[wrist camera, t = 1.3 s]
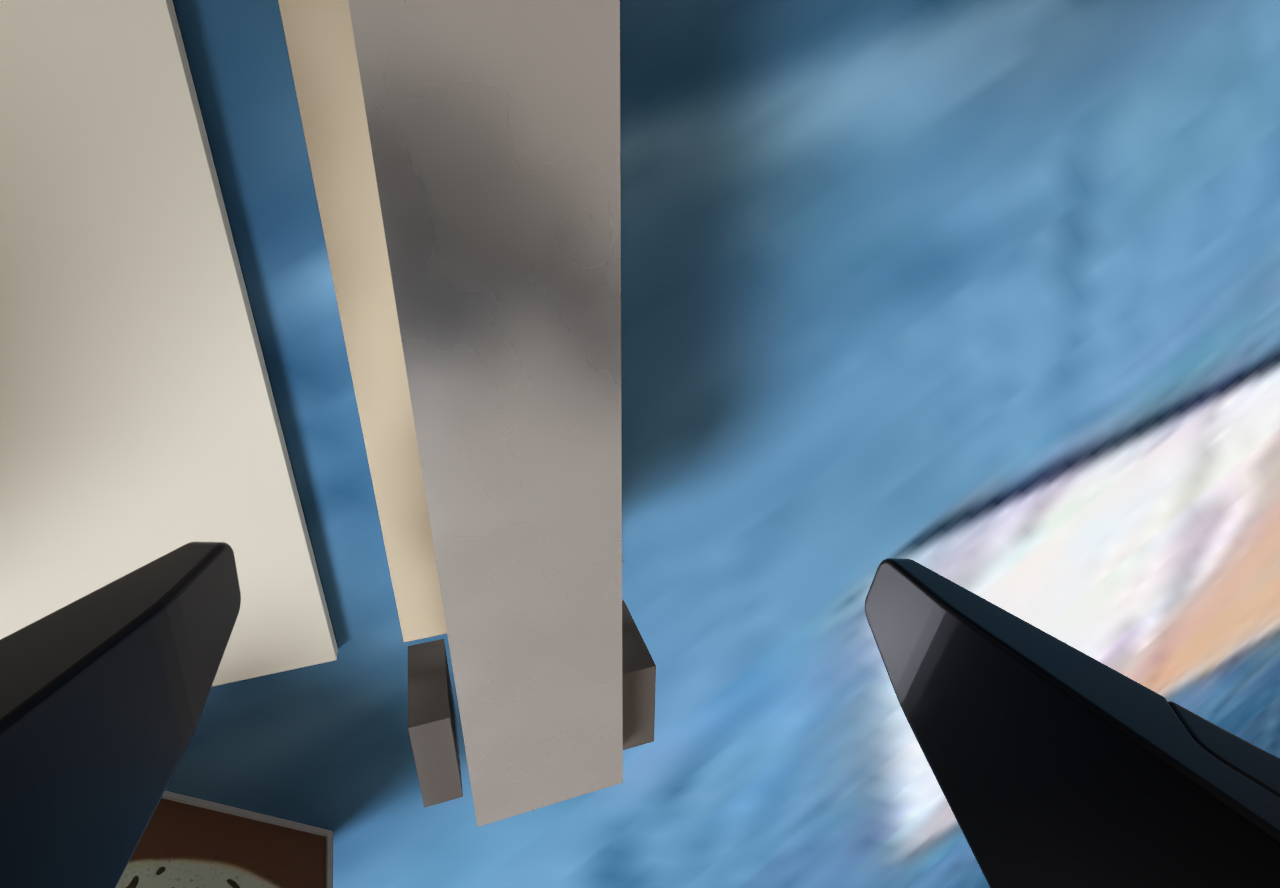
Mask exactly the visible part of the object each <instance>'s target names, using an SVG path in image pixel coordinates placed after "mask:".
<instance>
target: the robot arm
mask: <svg viewBox="0 0 1280 888" xmlns="http://www.w3.org/2000/svg"><path fill="white" fill-rule="evenodd" d="M240 604H241V593H240V587H239V581H238V575H237V569H236V563H235V557H234V552H233V550H232V548H231V546H230V545H228V544H227V543H225V542H190V543H187V544H185V545H183V546H181V547H179V548H177V549H175V550H173V551H171V552H170V553H168V554H166V555H164V556H162V557H160V558H158V559H156V560H154V561H152V562H150V563H148V564H146V565H144V566H142V567H140V568H138V569H136V570H135V571H133V572H131V573H129V574H127V575H125V576H123V577H121V578H119V579H117V580H115V581H113V582H111V583H109V584H107V585H105V586H103V587H102V588H100V589H98V590H96V591H94V592H92V593H90V594H88V595H86V596H84V597H82V598H80V599H78V600H76V601H74V602H72V603H70V604H69V605H67V606H65V607H63V608H61V609H59V610H57V611H55V612H53V613H51V614H49V615H47V616H45V617H43V618H41V619H39V620H37V621H36V622H34V623H32V624H30V625H28V626H26V627H24V628H22V629H20V630H18V631H16V632H14V633H12V634H10V635H8V636H6V637H4V638H2V639H1V640H0V888H116V886H117V884H118V882H119V880H120V878H121V876H122V874H123V872H124V870H125V868H126V866H127V864H128V862H129V860H130V858H131V856H132V854H133V852H134V850H135V848H136V846H137V844H138V842H139V840H140V839H141V837H142V835H143V833H144V831H145V829H146V827H147V825H148V823H149V821H150V819H151V817H152V815H153V813H154V811H155V809H156V807H157V805H158V803H159V801H160V799H161V797H162V795H163V793H164V791H165V789H166V787H167V785H168V783H169V781H170V779H171V777H172V775H173V773H174V771H175V769H176V767H177V765H178V763H179V761H180V760H181V758H182V756H183V754H184V752H185V750H186V748H187V745H188V743H189V741H190V739H191V737H192V735H193V733H194V731H195V728H196V726H197V723H198V721H199V718H200V716H201V713H202V711H203V708H204V706H205V703H206V700H207V698H208V695H209V692H210V690H211V687H212V684H213V681H214V679H215V676H216V673H217V671H218V668H219V665H220V662H221V660H222V657H223V654H224V652H225V649H226V646H227V644H228V641H229V638H230V635H231V633H232V630H233V627H234V625H235V622H236V619H237V617H238V614H239V610H240ZM865 613H866V617H867V620H868V622H869V625H870V627H871V630H872V633H873V635H874V638H875V641H876V643H877V646H878V649H879V651H880V654H881V656H882V659H883V662H884V664H885V667H886V670H887V672H888V675H889V677H890V680H891V683H892V685H893V688H894V691H895V693H896V695H897V698H898V700H899V703H900V705H901V707H902V710H903V712H904V714H905V716H906V718H907V720H908V722H909V724H910V726H911V728H912V731H913V733H914V735H915V737H916V739H917V741H918V743H919V745H920V747H921V749H922V751H923V753H924V755H925V757H926V759H927V761H928V763H929V765H930V767H931V769H932V771H933V773H934V775H935V777H936V779H937V781H938V783H939V785H940V787H941V789H942V791H943V793H944V795H945V797H946V799H947V801H948V803H949V805H950V807H951V809H952V811H953V813H954V815H955V818H956V820H957V822H958V824H959V826H960V828H961V830H962V832H963V834H964V836H965V838H966V840H967V842H968V844H969V846H970V848H971V850H972V852H973V854H974V856H975V858H976V860H977V862H978V864H979V866H980V868H981V870H982V872H983V874H984V876H985V878H986V880H987V882H988V884H989V886H990V888H1280V758H1278V757H1276V756H1274V755H1272V754H1270V753H1268V752H1266V751H1264V750H1262V749H1260V748H1258V747H1256V746H1254V745H1252V744H1250V743H1248V742H1247V741H1245V740H1243V739H1241V738H1239V737H1237V736H1235V735H1233V734H1232V733H1230V732H1228V731H1226V730H1224V729H1222V728H1220V727H1218V726H1217V725H1215V724H1213V723H1211V722H1209V721H1207V720H1205V719H1203V718H1202V717H1200V716H1198V715H1196V714H1194V713H1192V712H1191V711H1189V710H1187V709H1185V708H1183V707H1181V706H1180V705H1178V704H1176V703H1174V702H1171V701H1169V702H1167V700H1166V699H1165V698H1164V697H1163V696H1161V695H1159V694H1157V693H1155V692H1154V691H1152V690H1150V689H1148V688H1146V687H1144V686H1143V685H1141V684H1139V683H1137V682H1135V681H1133V680H1132V679H1130V678H1128V677H1126V676H1124V675H1122V674H1121V673H1119V672H1117V671H1115V670H1113V669H1111V668H1110V667H1108V666H1106V665H1104V664H1102V663H1100V662H1099V661H1097V660H1095V659H1093V658H1091V657H1089V656H1088V655H1086V654H1084V653H1082V652H1080V651H1078V650H1077V649H1075V648H1073V647H1071V646H1069V645H1067V644H1066V643H1064V642H1062V641H1060V640H1058V639H1056V638H1055V637H1053V636H1051V635H1049V634H1047V633H1045V632H1043V631H1042V630H1040V629H1038V628H1036V627H1034V626H1032V625H1031V624H1029V623H1027V622H1025V621H1023V620H1021V619H1020V618H1018V617H1016V616H1014V615H1012V614H1010V613H1009V612H1007V611H1005V610H1003V609H1001V608H999V607H998V606H996V605H994V604H992V603H990V602H988V601H987V600H985V599H983V598H981V597H979V596H977V595H976V594H974V593H972V592H970V591H968V590H966V589H965V588H963V587H961V586H959V585H957V584H955V583H954V582H952V581H950V580H948V579H946V578H944V577H943V576H941V575H939V574H937V573H935V572H933V571H932V570H930V569H928V568H926V567H924V566H922V565H921V564H919V563H917V562H915V561H913V560H910V559H890V558H889V559H885V560H883V561H882V562H881V563H880V565H879V567H878V569H877V572H876V574H875V577H874V579H873V582H872V584H871V587H870V589H869V592H868V595H867V597H866V600H865Z"/></svg>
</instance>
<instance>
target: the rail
mask: <svg viewBox="0 0 1280 888" xmlns="http://www.w3.org/2000/svg"><path fill="white" fill-rule="evenodd" d="M348 2H349V8H350V14H351V21H352V27H353V34H354V40H355V46H356V53H357V59H358V66H359V72H360V78H361V85H362V91H363V98H364V104H365V110H366V117H367V123H368V130H369V136H370V142H371V149H372V155H373V162H374V168H375V174H376V181H377V187H378V194H379V200H380V206H381V213H382V219H383V226H384V232H385V238H386V245H387V251H388V258H389V264H390V270H391V277H392V283H393V289H394V296H395V302H396V309H397V315H398V321H399V328H400V334H401V341H402V347H403V353H404V360H405V366H406V373H407V379H408V385H409V392H410V398H411V405H412V411H413V417H414V424H415V430H416V437H417V443H418V449H419V456H420V462H421V469H422V475H423V481H424V488H425V494H426V501H427V507H428V513H429V520H430V526H431V533H432V539H433V545H434V552H435V558H436V565H437V571H438V577H439V584H440V590H441V597H442V603H443V609H444V616H445V622H446V629H447V635H448V641H449V648H450V654H451V661H452V667H453V673H454V680H455V686H456V693H457V699H458V705H459V712H460V718H461V725H462V731H463V737H464V744H465V750H466V757H467V763H468V769H469V776H470V782H471V789H472V795H473V801H474V808H475V814H476V821H477V827H479V826H482V825H486V824H489V823H492V822H495V821H499V820H502V819H505V818H508V817H512V816H515V815H518V814H521V813H525V812H528V811H531V810H535V809H538V808H541V807H544V806H548V805H551V804H554V803H557V802H561V801H564V800H567V799H570V798H574V797H577V796H580V795H583V794H587V793H590V792H593V791H597V790H600V789H603V788H606V787H610V786H613V785H616V784H619V783H623V711H622V442H621V173H620V0H348Z"/></svg>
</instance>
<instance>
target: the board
mask: <svg viewBox="0 0 1280 888" xmlns="http://www.w3.org/2000/svg"><path fill="white" fill-rule="evenodd" d="M190 542H225V543H227V544H228V545H230V546H231V548H232V550H233V552H234V557H235V563H236V569H237V575H238V581H239V587H240V593H241V604H240V610H239V614H238V617H237V619H236V622H235V625H234V627H233V630H232V633H231V635H230V638H229V641H228V644H227V646H226V649H225V652H224V654H223V657H222V660H221V662H220V665H219V668H218V671H217V673H216V676H215V679H214V681H213V684H212V687H213V686H217V685H222V684H227V683H231V682H236V681H241V680H245V679H250V678H255V677H259V676H264V675H269V674H274V673H278V672H283V671H288V670H292V669H297V668H302V667H306V666H311V665H316V664H320V663H325V662H330V661H335V660H337V653H338V647H337V643H336V640H335V636H334V632H333V628H332V624H331V620H330V616H329V612H328V608H327V604H326V600H325V596H324V593H323V589H322V585H321V581H320V577H319V573H318V569H317V565H316V561H315V557H314V553H313V549H312V546H311V542H310V538H309V534H308V530H307V526H306V522H305V518H304V514H303V510H302V506H301V502H300V498H299V495H298V491H297V487H296V483H295V479H294V475H293V471H292V467H291V463H290V459H289V455H288V451H287V448H286V444H285V440H284V436H283V432H282V428H281V424H280V420H279V416H278V412H277V408H276V404H275V400H274V397H273V393H272V389H271V385H270V381H269V377H268V373H267V369H266V365H265V361H264V357H263V353H262V350H261V346H260V342H259V338H258V334H257V330H256V326H255V322H254V318H253V314H252V310H251V306H250V302H249V299H248V295H247V291H246V287H245V283H244V279H243V275H242V271H241V267H240V263H239V259H238V255H237V252H236V248H235V244H234V240H233V236H232V232H231V228H230V224H229V220H228V216H227V212H226V208H225V204H224V201H223V197H222V193H221V189H220V185H219V181H218V177H217V173H216V169H215V165H214V161H213V157H212V154H211V150H210V146H209V142H208V138H207V134H206V130H205V126H204V122H203V118H202V114H201V110H200V106H199V103H198V99H197V95H196V91H195V87H194V83H193V79H192V75H191V71H190V67H189V63H188V59H187V56H186V52H185V48H184V44H183V40H182V36H181V32H180V28H179V24H178V20H177V16H176V12H175V8H174V5H173V1H172V0H0V640H1V639H2V638H4V637H6V636H8V635H10V634H12V633H14V632H16V631H18V630H20V629H22V628H24V627H26V626H28V625H30V624H32V623H34V622H36V621H37V620H39V619H41V618H43V617H45V616H47V615H49V614H51V613H53V612H55V611H57V610H59V609H61V608H63V607H65V606H67V605H69V604H70V603H72V602H74V601H76V600H78V599H80V598H82V597H84V596H86V595H88V594H90V593H92V592H94V591H96V590H98V589H100V588H102V587H103V586H105V585H107V584H109V583H111V582H113V581H115V580H117V579H119V578H121V577H123V576H125V575H127V574H129V573H131V572H133V571H135V570H136V569H138V568H140V567H142V566H144V565H146V564H148V563H150V562H152V561H154V560H156V559H158V558H160V557H162V556H164V555H166V554H168V553H170V552H171V551H173V550H175V549H177V548H179V547H181V546H183V545H185V544H187V543H190Z"/></svg>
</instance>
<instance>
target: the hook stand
mask: <svg viewBox="0 0 1280 888" xmlns="http://www.w3.org/2000/svg"><path fill="white" fill-rule="evenodd" d="M278 2H279V7H280V12H281V17H282V22H283V27H284V32H285V37H286V43H287V48H288V53H289V58H290V63H291V68H292V73H293V78H294V83H295V89H296V94H297V99H298V104H299V109H300V114H301V119H302V124H303V129H304V135H305V140H306V145H307V150H308V155H309V160H310V165H311V170H312V175H313V181H314V186H315V191H316V196H317V201H318V206H319V211H320V216H321V221H322V227H323V232H324V237H325V242H326V247H327V252H328V257H329V262H330V267H331V273H332V278H333V283H334V288H335V293H336V298H337V303H338V308H339V313H340V319H341V324H342V329H343V334H344V339H345V344H346V349H347V354H348V359H349V365H350V370H351V375H352V380H353V385H354V390H355V395H356V400H357V405H358V411H359V416H360V421H361V426H362V431H363V436H364V441H365V446H366V451H367V457H368V462H369V467H370V472H371V477H372V482H373V487H374V492H375V497H376V503H377V508H378V513H379V518H380V523H381V528H382V533H383V538H384V543H385V549H386V554H387V559H388V564H389V569H390V574H391V579H392V584H393V589H394V595H395V600H396V605H397V610H398V615H399V620H400V625H401V630H402V635H403V641H404V642H408V641H413V640H417V639H422V638H427V637H431V636H436V635H441V634H446V633H447V629H446V622H445V616H444V609H443V603H442V597H441V590H440V584H439V577H438V571H437V565H436V558H435V552H434V545H433V539H432V533H431V526H430V520H429V513H428V507H427V501H426V494H425V488H424V481H423V475H422V469H421V462H420V456H419V449H418V443H417V437H416V430H415V424H414V417H413V411H412V405H411V398H410V392H409V385H408V379H407V373H406V366H405V360H404V353H403V347H402V341H401V334H400V328H399V321H398V315H397V309H396V302H395V296H394V289H393V283H392V277H391V270H390V264H389V258H388V251H387V245H386V238H385V232H384V226H383V219H382V213H381V206H380V200H379V194H378V187H377V181H376V174H375V168H374V162H373V155H372V149H371V142H370V136H369V130H368V123H367V117H366V110H365V104H364V98H363V91H362V85H361V78H360V72H359V66H358V59H357V53H356V46H355V40H354V34H353V27H352V21H351V14H350V8H349V2H348V0H278ZM655 678H656V665H655V663H654V661H653V659H652V657H651V655H650V653H649V651H648V649H647V647H646V645H645V643H644V641H643V639H642V637H641V635H640V633H639V631H638V629H637V627H636V625H635V623H634V620H633V618H632V616H631V614H630V612H629V610H628V608H627V606H626V604H625V602H624V600H623V601H622V711H623V750H625V749H628V748H632V747H635V746H639V745H642V744H646V743H649V742H653V741H654V716H655ZM408 730H409V735H410V740H411V745H412V749H413V754H414V759H415V764H416V769H417V774H418V778H419V783H420V788H421V793H422V798H423V802H424V807H428V806H432V805H435V804H439V803H442V802H446V801H449V800H453V799H456V798H459V797H463V794H462V782H461V771H460V760H459V748H458V737H457V725H456V714H455V707H454V701H453V695H452V688H451V682H450V676H449V670H448V663H447V657H446V651H445V645H444V639H441V640H436V641H432V642H427V643H422V644H418V645H413V646H408Z"/></svg>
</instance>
